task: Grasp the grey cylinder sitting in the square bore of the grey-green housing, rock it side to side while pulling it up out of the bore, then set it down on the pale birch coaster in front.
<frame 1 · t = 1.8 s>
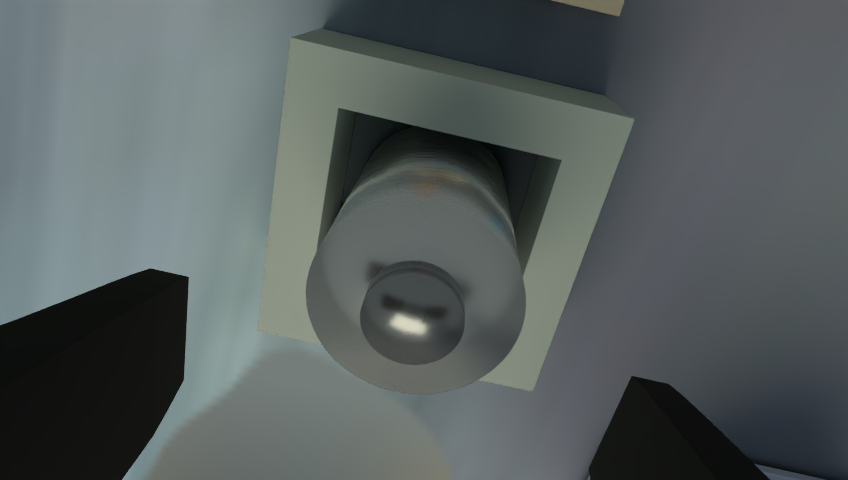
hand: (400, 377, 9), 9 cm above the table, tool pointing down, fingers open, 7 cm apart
housing: (432, 196, 17), on the table
grey cylinder: (424, 244, 14), in the housing
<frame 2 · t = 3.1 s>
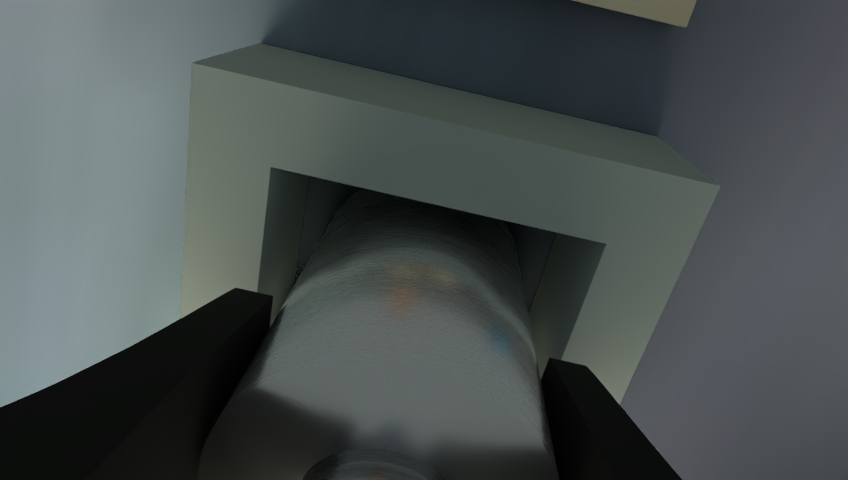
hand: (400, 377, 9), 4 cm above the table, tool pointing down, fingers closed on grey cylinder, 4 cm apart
housing: (418, 267, 13), on the table
grey cylinder: (402, 363, 10), in the housing, touching gripper
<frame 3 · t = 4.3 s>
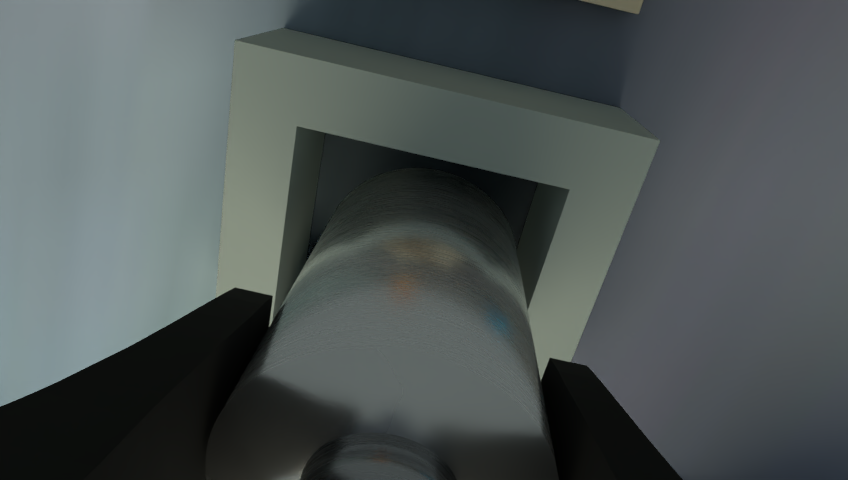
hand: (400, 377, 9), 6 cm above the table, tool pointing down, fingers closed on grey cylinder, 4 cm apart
housing: (416, 223, 15), on the table
grey cylinder: (403, 353, 10), point 6 cm above the table, touching gripper
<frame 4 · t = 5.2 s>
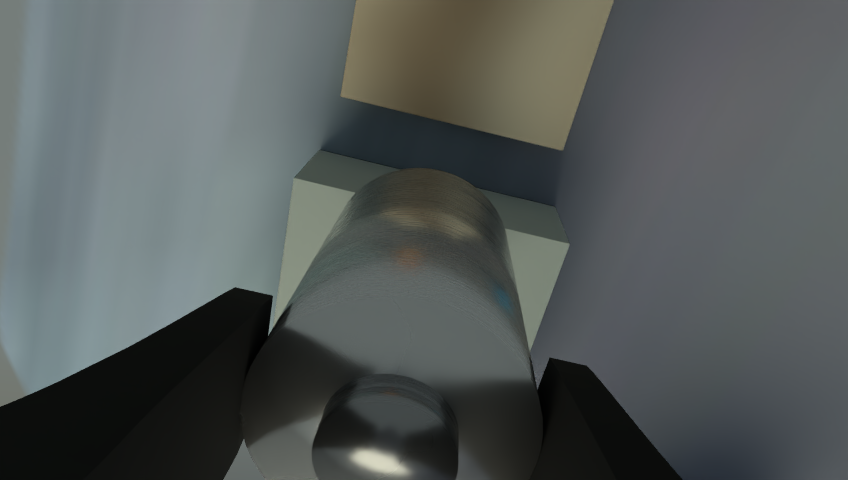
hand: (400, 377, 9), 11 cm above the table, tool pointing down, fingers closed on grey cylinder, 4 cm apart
housing: (411, 282, 20), on the table
grey cylinder: (407, 326, 11), point 9 cm above the table, touching gripper
coaster: (482, 2, 17), on the table
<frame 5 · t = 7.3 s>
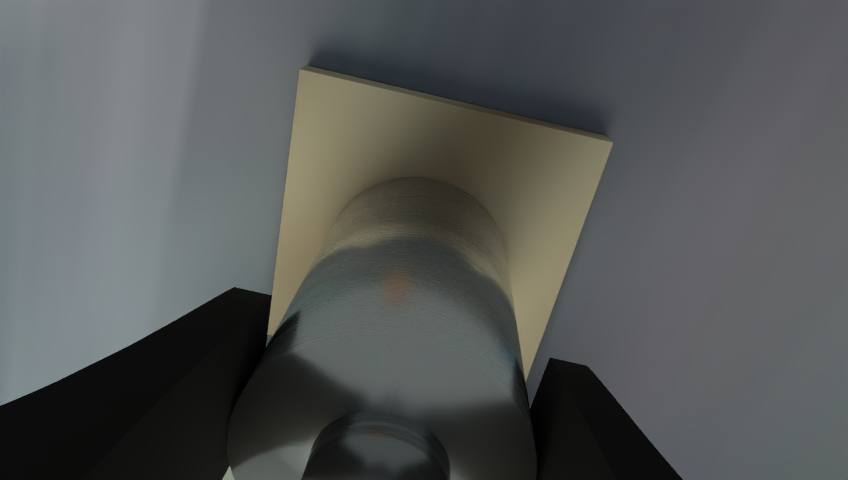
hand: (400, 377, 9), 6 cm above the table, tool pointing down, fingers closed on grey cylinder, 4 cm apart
grey cylinder: (401, 346, 11), on the coaster, point 4 cm above the table, touching gripper
coaster: (425, 238, 14), on the table
when the fingers open (6 cm above the table, at t = 7.3 s): grey cylinder stays where it is, resting on coaster.
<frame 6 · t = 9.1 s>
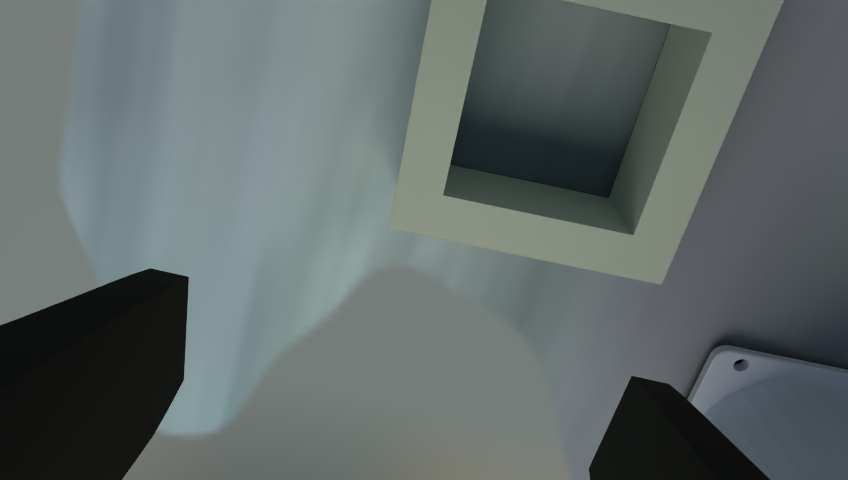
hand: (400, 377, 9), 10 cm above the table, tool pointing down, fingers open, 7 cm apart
housing: (551, 98, 17), on the table
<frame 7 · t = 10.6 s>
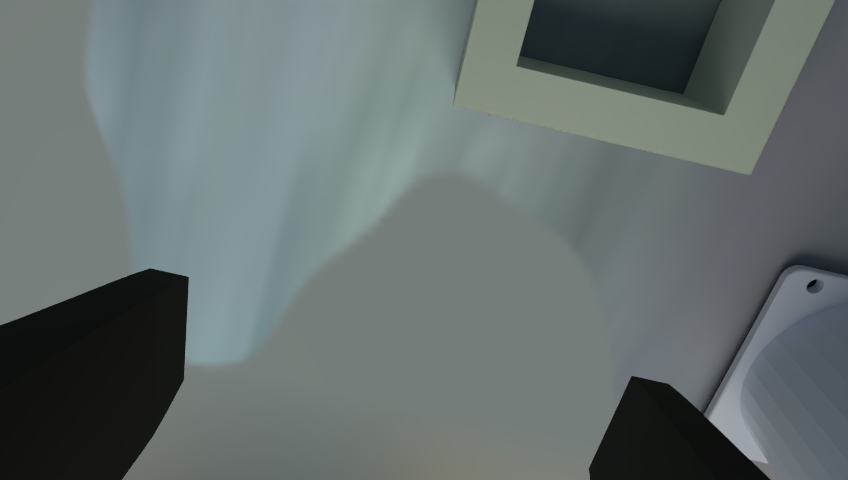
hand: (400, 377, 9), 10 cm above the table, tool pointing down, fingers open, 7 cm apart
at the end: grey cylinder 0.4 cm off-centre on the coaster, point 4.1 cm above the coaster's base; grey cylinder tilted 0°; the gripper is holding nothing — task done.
